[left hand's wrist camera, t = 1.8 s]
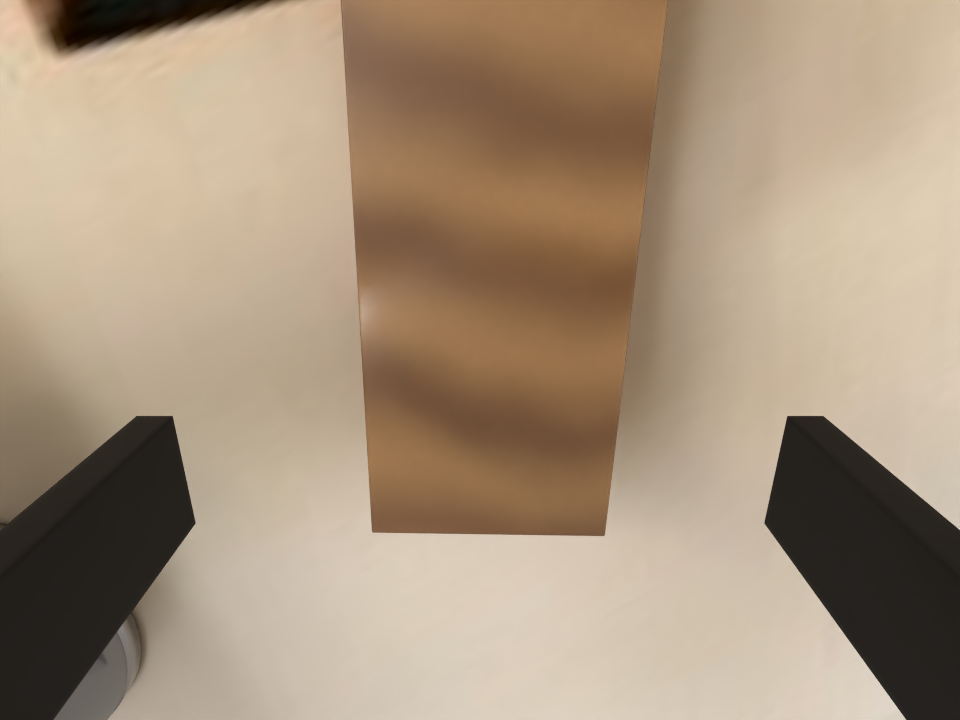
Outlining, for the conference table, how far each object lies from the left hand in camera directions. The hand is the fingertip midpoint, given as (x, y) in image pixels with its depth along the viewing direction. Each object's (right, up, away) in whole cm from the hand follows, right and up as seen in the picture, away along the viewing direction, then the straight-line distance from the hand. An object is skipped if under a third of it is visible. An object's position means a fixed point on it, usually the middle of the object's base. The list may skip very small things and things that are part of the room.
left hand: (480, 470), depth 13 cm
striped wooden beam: (+1, +28, +5) cm, 29 cm away
